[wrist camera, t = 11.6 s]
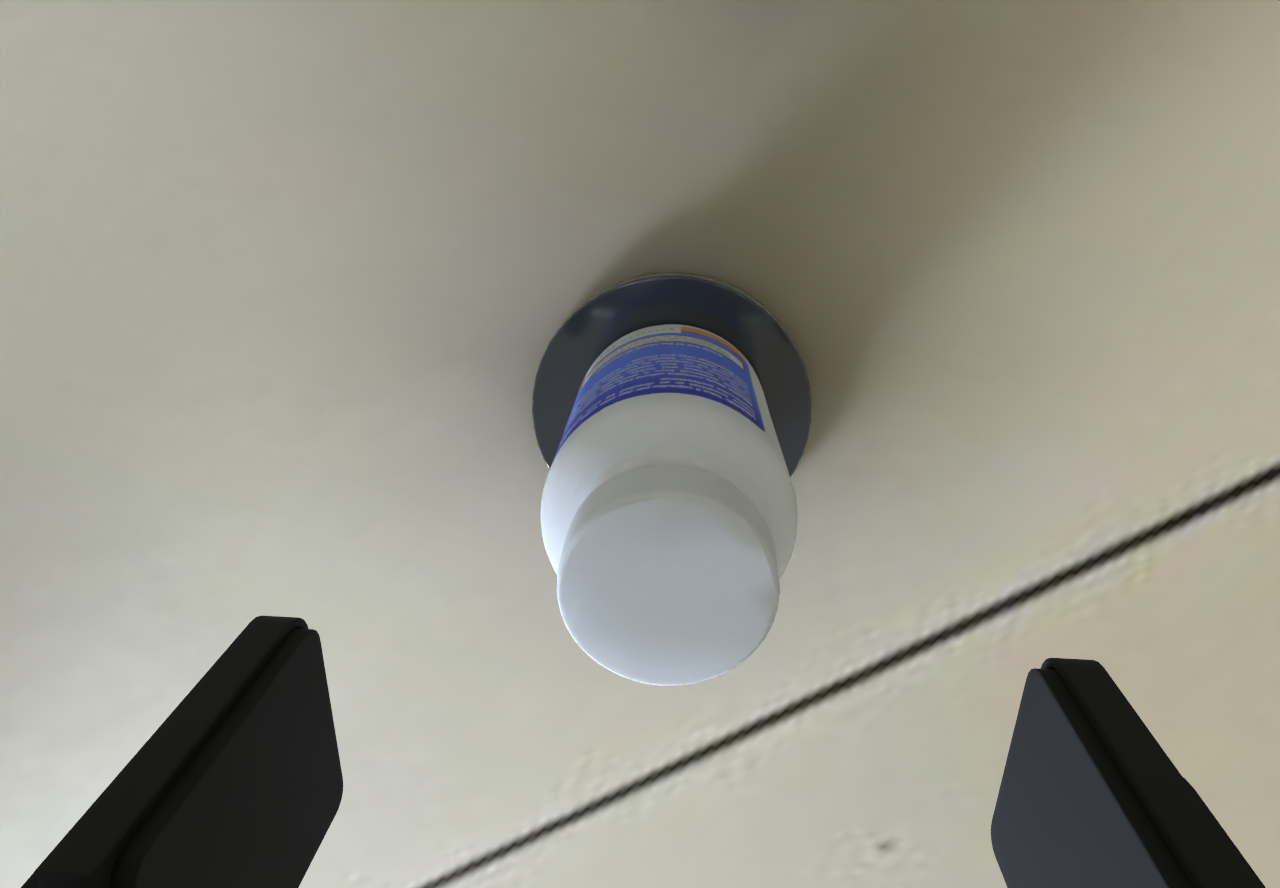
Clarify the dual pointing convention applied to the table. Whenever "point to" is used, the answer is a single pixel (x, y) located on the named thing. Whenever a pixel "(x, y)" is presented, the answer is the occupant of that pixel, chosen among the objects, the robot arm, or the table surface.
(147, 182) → the table surface
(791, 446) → the coaster
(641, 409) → the pill bottle
